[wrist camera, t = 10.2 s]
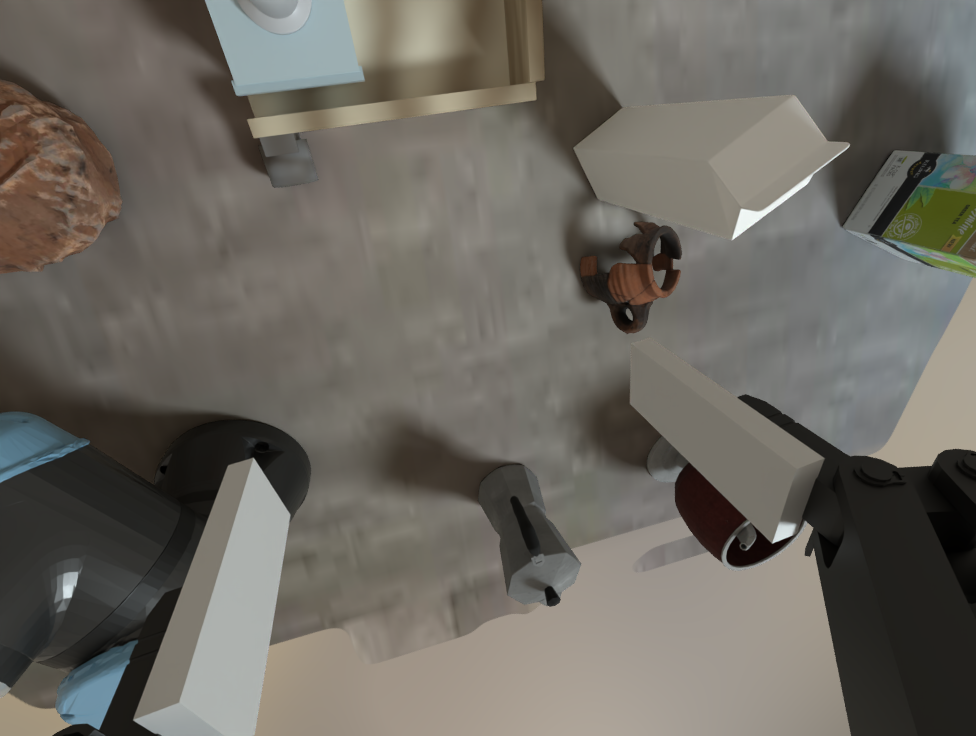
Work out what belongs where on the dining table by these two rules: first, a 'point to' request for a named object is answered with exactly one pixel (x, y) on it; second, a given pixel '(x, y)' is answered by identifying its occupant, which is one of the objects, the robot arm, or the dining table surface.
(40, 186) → the decorative rock
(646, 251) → the pottery mug
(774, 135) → the milk
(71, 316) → the dining table surface
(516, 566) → the coffeepot
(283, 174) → the tray
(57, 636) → the robot arm
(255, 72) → the cylinder on square plate
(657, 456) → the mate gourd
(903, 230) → the tea box
